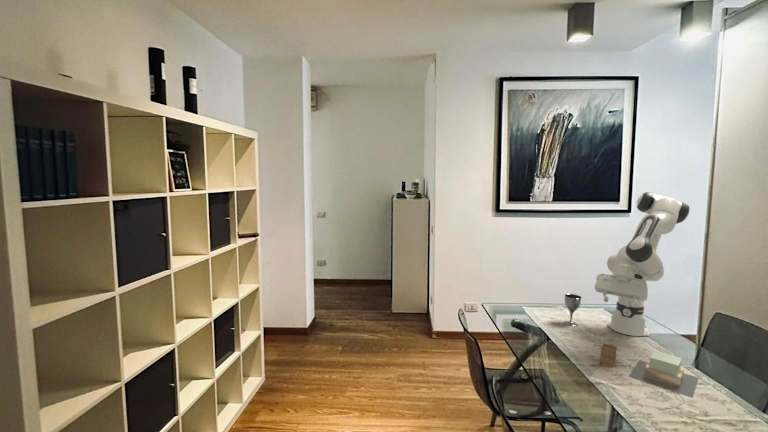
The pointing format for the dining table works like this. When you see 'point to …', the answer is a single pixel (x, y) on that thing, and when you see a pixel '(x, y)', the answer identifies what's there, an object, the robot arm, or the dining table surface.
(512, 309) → the dining table surface
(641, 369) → the mat
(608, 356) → the walnut block
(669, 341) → the dining table surface
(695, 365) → the dining table surface
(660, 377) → the tower base
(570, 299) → the wine glass
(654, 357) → the tower top
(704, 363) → the dining table surface
